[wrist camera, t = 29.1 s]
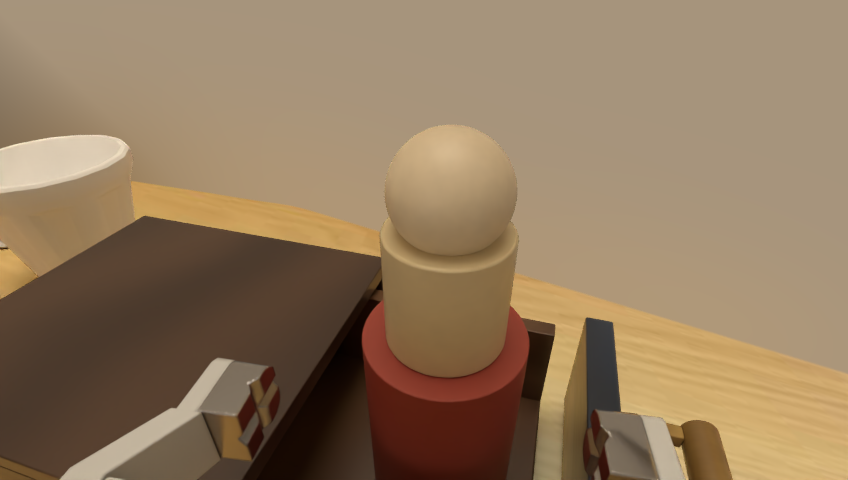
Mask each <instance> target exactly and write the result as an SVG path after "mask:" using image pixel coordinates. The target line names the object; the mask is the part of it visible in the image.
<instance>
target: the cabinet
mask: <svg viewBox="0 0 848 480" xmlns="http://www.w3.org/2000/svg"><path fill="white" fill-rule="evenodd" d="M375 289H376V290H381V291H383V282H382V266H381V257H376V256H371V255H365V254H359V253H354V252H348V251H342V250H336V249H331V248H325V247H319V246H314V245H308V244H302V243H297V242H291V241H285V240H280V239H274V238H268V237H262V236H257V235H251V234H245V233H240V232H234V231H228V230H223V229H217V228H211V227H205V226H200V225H194V224H188V223H183V222H177V221H171V220H166V219H160V218H154V217H148V216H143V217H141V218H140V219H138V220H136V221H134V222H133V223H131V224H129V225H128V226H126V227H124V228H122V229H121V230H119V231H117V232H116V233H114V234H112V235H110V236H109V237H107V238H105V239H104V240H102V241H100V242H98V243H97V244H95V245H93V246H92V247H90V248H88V249H86V250H85V251H83V252H81V253H79V254H78V255H76V256H74V257H73V258H71V259H69V260H67V261H66V262H64V263H62V264H61V265H59V266H57V267H55V268H54V269H52V270H50V271H49V272H47V273H45V274H43V275H42V276H40V277H38V278H37V279H35V280H33V281H31V282H30V283H28V284H26V285H25V286H23V287H21V288H19V289H18V290H16V291H14V292H13V293H11V294H9V295H7V296H6V297H4V298H2V299H0V480H60V479H61V477H62V476H63V475H64V474H65V473H66V472H67V470H68V469H69V468H70V467H72V466H74V465H75V464H77V463H79V462H80V461H82V460H84V459H85V458H87V457H89V456H90V455H92V454H94V453H96V452H97V451H99V450H101V449H102V448H104V447H106V446H107V445H109V444H111V443H112V442H114V441H116V440H118V439H119V438H121V437H123V436H124V435H126V434H128V433H129V432H131V431H133V430H134V429H136V428H138V427H140V426H141V425H143V424H145V423H146V422H148V421H150V420H151V419H153V418H155V417H156V416H158V415H160V414H162V413H163V412H165V411H167V410H168V409H170V408H177V407H178V406H179V404H180V403H181V402H182V400H183V399H184V398H185V396H186V395H187V394H188V392H189V391H190V390H191V388H192V387H193V386H194V384H195V383H196V382H197V380H198V379H199V378H200V376H201V375H202V374H203V372H204V371H205V370H206V368H207V367H208V366H209V364H210V363H211V362H212V361H213V360H215V359H217V358H223V359H230V360H237V361H243V362H249V363H255V364H261V365H267V366H273V367H274V371H275V374H276V376H275V378H274V379H273V381H274V382H275V383H276V384H277V385H278V386H279V389H280V404H279V408H278V412H277V414H276V416H275V418H274V420H273V422H272V423H271V424H270V425H268V426H267V427H265V428H264V429H263V433H264V440H263V442H262V444H261V446H260V448H259V449H258V451H257V453H256V455H255V457H254V459H253V461H252V462H250V461H243V460H235V459H228V458H221V459H220V461H218V462H217V463H216V464H215V465H214V466H213V467H211V468H210V469H209V470H208V471H207V472H205V473H204V474H203V475H202V476H201V477H200V478H198V479H197V480H256V479H257V477H258V476H259V474H260V473H261V471H262V469H263V468H264V466H265V465H266V463H267V461H268V460H269V458H270V457H271V455H272V453H273V452H274V450H275V449H276V447H277V445H278V444H279V442H280V441H281V439H282V437H283V436H284V434H285V433H286V431H287V429H288V428H289V426H290V425H291V423H292V421H293V420H294V418H295V417H296V415H297V413H298V412H299V410H300V409H301V407H302V405H303V404H304V402H305V401H306V399H307V398H308V396H309V394H310V393H311V391H312V390H313V388H314V386H315V385H316V383H317V382H318V380H319V378H320V377H321V375H322V374H323V372H324V370H325V369H326V367H327V366H328V364H329V362H330V361H331V359H332V358H333V356H334V354H335V353H336V351H337V350H338V348H339V346H340V345H341V343H342V342H343V340H344V338H345V337H346V335H347V334H348V332H349V330H350V329H351V327H352V326H353V324H354V322H355V321H356V319H357V318H358V316H359V314H360V313H361V311H362V310H363V308H364V306H365V305H366V303H367V302H368V300H369V299H370V297H371V295H372V294H373V292H374V291H375Z"/></svg>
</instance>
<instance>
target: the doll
mask: <svg viewBox="0 0 848 480" xmlns="http://www.w3.org/2000/svg"><path fill="white" fill-rule="evenodd" d="M516 201H517V181H516V176H515V172H514V169H513V167H512V164H511V162H510V160H509V158H508V156H507V155H506V153H505V152H504V150H503V149H502V148H501V147H500V146H499V145H498V144H497V143H496V142H495V141H494V140H493V139H492V138H490V137H489V136H487V135H486V134H484V133H482V132H481V131H478V130H476V129H473V128H471V127H467V126H461V125H441V126H436V127H432V128H429V129H427V130H424V131H422V132H420V133H418V134H417V135H415V136H414V137H412V138H411V139H410V140H408V141H407V142H406V143H405V144H404V145H403V146H402V147H401V148H400V150H399V151H398V152H397V154H396V155H395V157H394V158H393V160H392V163H391V164H390V166H389V169H388V172H387V176H386V181H385V203H386V208H387V211H388V214H389V217H388V218H387V220H386V221H385V222H384V223H383V226H382V228H381V230H380V249H381V266H382V282H383V299H384V300H382V301H381V302H380V303H379V304H378V305H377V306H376V307H375V308H374V309H373V311H372V312H371V313H370V315H369V316H368V318H367V320H366V322H365V325H364V327H363V332H362V351H363V360H364V370H365V380H366V390H367V400H368V410H369V419H370V429H371V439H372V449H373V459H374V469H375V478H376V480H506V476H507V471H508V465H509V460H510V454H511V449H512V443H513V438H514V432H515V427H516V421H517V416H518V410H519V405H520V399H521V394H522V388H523V383H524V377H525V372H526V366H527V361H528V355H529V347H530V345H529V336H528V332H527V329H526V327H525V324H524V322H523V321H522V319H521V317H520V316H519V315H518V313H517V312H516V311H515V310H514V309H513V308H512V307H511V306H510V301H511V294H512V287H513V280H514V272H515V265H516V257H517V250H518V243H519V236H518V233H517V230H516V228H515V226H514V224H513V223H512V222H511V221H510V220H511V218H512V216H513V213H514V210H515V206H516Z"/></svg>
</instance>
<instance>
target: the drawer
mask: <svg viewBox="0 0 848 480" xmlns="http://www.w3.org/2000/svg"><path fill="white" fill-rule="evenodd" d="M382 300H384V299H383V291H381V290H376V289H375V291H374V292H373V294H372V295H371V297H370V299H369V300H368V302H367V303H366V305H365V306H364V308H363V310H362V311H361V313H360V314H359V316H358V318H357V319H356V321H355V322H354V324H353V326H352V327H351V329H350V330H349V332H348V334H347V335H346V337H345V338H344V340H343V342H342V343H341V345H340V346H339V348H338V350H337V351H336V353H335V354H334V356H333V358H332V359H331V361H330V362H329V364H328V366H327V367H326V369H325V370H324V372H323V374H322V375H321V377H320V378H319V380H318V382H317V383H316V385H315V386H314V388H313V390H312V391H311V393H310V394H309V396H308V398H307V399H306V401H305V402H304V404H303V405H302V407H301V409H300V410H299V412H298V413H297V415H296V417H295V418H294V420H293V421H292V423H291V425H290V426H289V428H288V429H287V431H286V433H285V434H284V436H283V437H282V439H281V441H280V442H279V444H278V445H277V447H276V449H275V450H274V452H273V453H272V455H271V457H270V458H269V460H268V461H267V463H266V465H265V466H264V468H263V469H262V471H261V473H260V474H259V476H258V477H257V479H256V480H376V478H375V469H374V459H373V449H372V439H371V429H370V419H369V410H368V400H367V390H366V380H365V370H364V360H363V351H362V332H363V327H364V325H365V322H366V320H367V318H368V316H369V315H370V313H371V312H372V311H373V309H374V308H375V307H376V306H377V305H378V304H379V303H380V302H381V301H382ZM521 319H522V321H523V322H524V324H525V327H526V329H527V332H528V336H529V345H530V347H529V355H528V361H527V366H526V372H525V377H524V383H523V388H522V394H521V399H520V405H519V410H518V416H517V421H516V427H515V432H514V438H513V443H512V449H511V454H510V460H509V465H508V471H507V476H506V480H533V474H534V463H535V452H536V441H537V430H538V419H539V408H540V400H541V396H542V391H543V387H544V382H545V377H546V373H547V368H548V364H549V359H550V355H551V350H552V345H553V341H554V336H555V324H550V323H545V322H540V321H535V320H530V319H524V318H521ZM594 409H601V410H609V411H617V412H621V406H620V395H619V384H618V373H617V362H616V351H615V340H614V329H613V323H612V322H609V321H604V320H598V319H593V318H586V319H585V323H584V327H583V330H582V334H581V338H580V342H579V346H578V349H577V353H576V357H575V361H574V365H573V368H572V372H571V376H570V380H569V384H568V388H567V391H566V395H565V400H564V428H563V456H562V480H591V477H590V476H589V475H588V474H587V472H586V471H585V468H584V461H583V442H584V436H585V433H586V430H587V429H589V428H590V427H591V421H590V417H591V414H592V411H593V410H594ZM666 425H667V428H668V430H669V433H670V436H671V439H672V442H673V445H674V446H676V447H680V446H681V445H682V450H683V455H684V460H685V464H686V469H687V474H688V479H689V480H733V479H732V475H731V472H730V468H729V465H728V462H727V458H726V455H725V451H724V448H723V445H722V441H721V438H720V434H719V431H718V430H717V428H716V427H715V426H714V425H712V424H711V423H709V422H706V421H701V420H692V421H688V422H685V423H684V424H682V425H681V426H677V425H673V424H668V423H666Z"/></svg>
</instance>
